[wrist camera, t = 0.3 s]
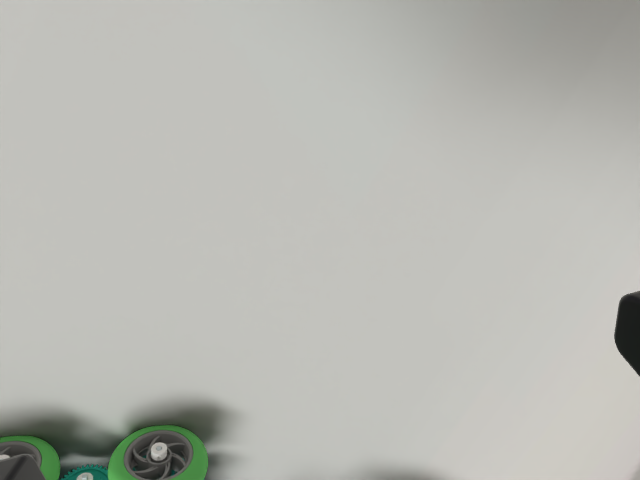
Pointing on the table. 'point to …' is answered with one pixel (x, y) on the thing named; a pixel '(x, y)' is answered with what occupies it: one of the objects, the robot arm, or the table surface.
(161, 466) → the robot kit
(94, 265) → the table surface
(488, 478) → the table surface
